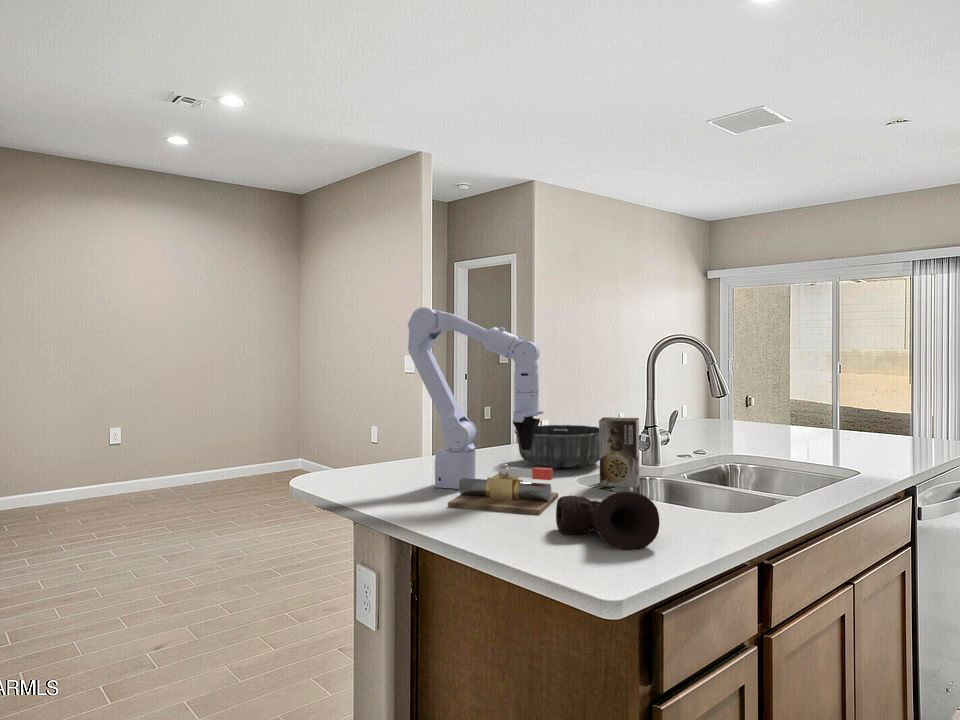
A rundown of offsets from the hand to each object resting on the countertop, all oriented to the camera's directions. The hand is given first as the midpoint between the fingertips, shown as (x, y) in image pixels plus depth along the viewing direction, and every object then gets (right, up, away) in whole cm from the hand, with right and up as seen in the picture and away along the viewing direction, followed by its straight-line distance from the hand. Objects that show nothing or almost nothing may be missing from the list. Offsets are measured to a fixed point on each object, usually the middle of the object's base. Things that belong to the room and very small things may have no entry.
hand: (526, 449), depth 160 cm
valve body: (-6, -10, -13) cm, 17 cm away
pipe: (+11, -11, -39) cm, 42 cm away
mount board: (-6, -10, -13) cm, 17 cm away
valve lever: (-1, -4, -14) cm, 15 cm away
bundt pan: (+12, -9, +33) cm, 36 cm away
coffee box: (+23, -9, +5) cm, 25 cm away
